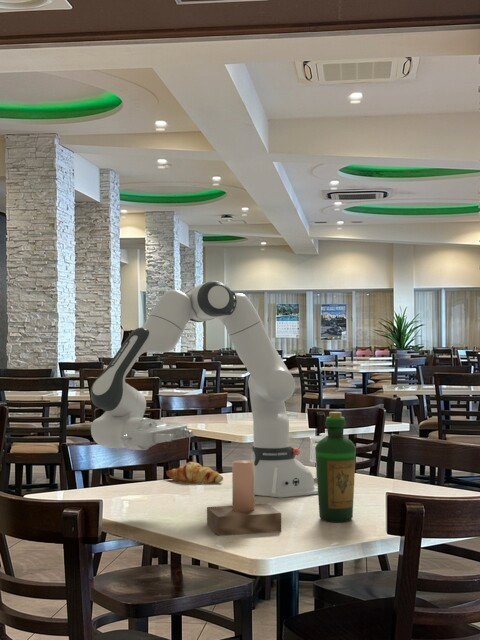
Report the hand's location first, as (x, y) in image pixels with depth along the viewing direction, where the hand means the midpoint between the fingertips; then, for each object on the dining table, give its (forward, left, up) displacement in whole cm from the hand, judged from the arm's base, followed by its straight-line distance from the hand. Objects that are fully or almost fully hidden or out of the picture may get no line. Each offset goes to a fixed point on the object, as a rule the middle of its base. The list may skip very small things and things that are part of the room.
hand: (181, 435), depth 218 cm
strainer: (-57, -47, -22) cm, 77 cm away
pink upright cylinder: (-12, +18, -17) cm, 27 cm away
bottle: (-38, +15, -22) cm, 46 cm away
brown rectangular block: (-12, +18, -22) cm, 30 cm away
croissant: (-14, -53, -22) cm, 59 cm away
